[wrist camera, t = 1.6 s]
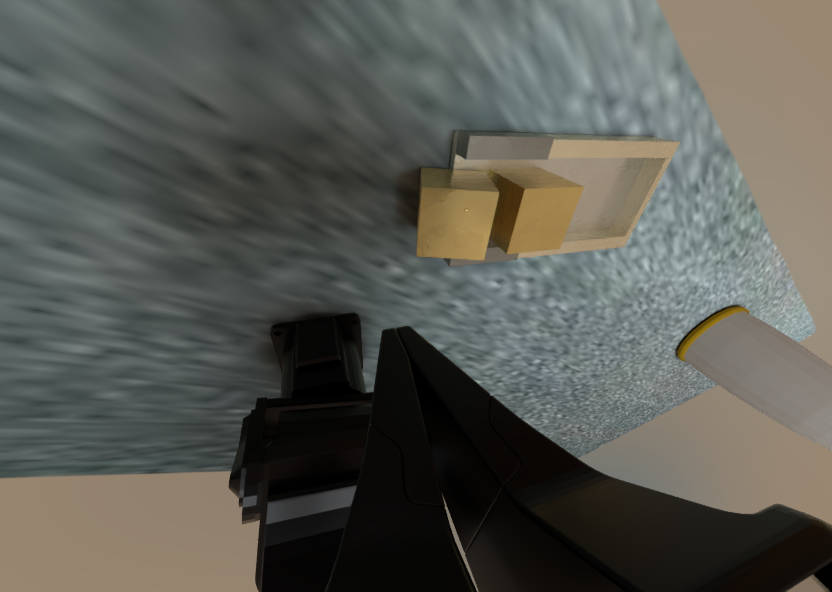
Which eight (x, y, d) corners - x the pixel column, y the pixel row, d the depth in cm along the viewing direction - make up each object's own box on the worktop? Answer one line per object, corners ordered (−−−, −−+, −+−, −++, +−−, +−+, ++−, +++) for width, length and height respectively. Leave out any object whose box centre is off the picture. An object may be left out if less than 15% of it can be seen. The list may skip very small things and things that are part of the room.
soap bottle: (684, 364, 52) (920, 548, 32) (666, 347, 45) (948, 566, 26) (746, 318, 48) (1058, 496, 28) (736, 293, 42) (1131, 501, 22)
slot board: (439, 252, 22) (449, 266, 21) (454, 129, 18) (469, 135, 16) (604, 237, 27) (623, 247, 25) (653, 135, 22) (681, 140, 20)
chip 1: (473, 231, 21) (483, 260, 18) (416, 227, 21) (416, 256, 18) (485, 171, 18) (499, 192, 15) (421, 167, 18) (421, 187, 15)
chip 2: (524, 224, 23) (559, 248, 20) (477, 227, 21) (506, 254, 18) (541, 168, 20) (584, 186, 17) (489, 168, 19) (525, 188, 16)
